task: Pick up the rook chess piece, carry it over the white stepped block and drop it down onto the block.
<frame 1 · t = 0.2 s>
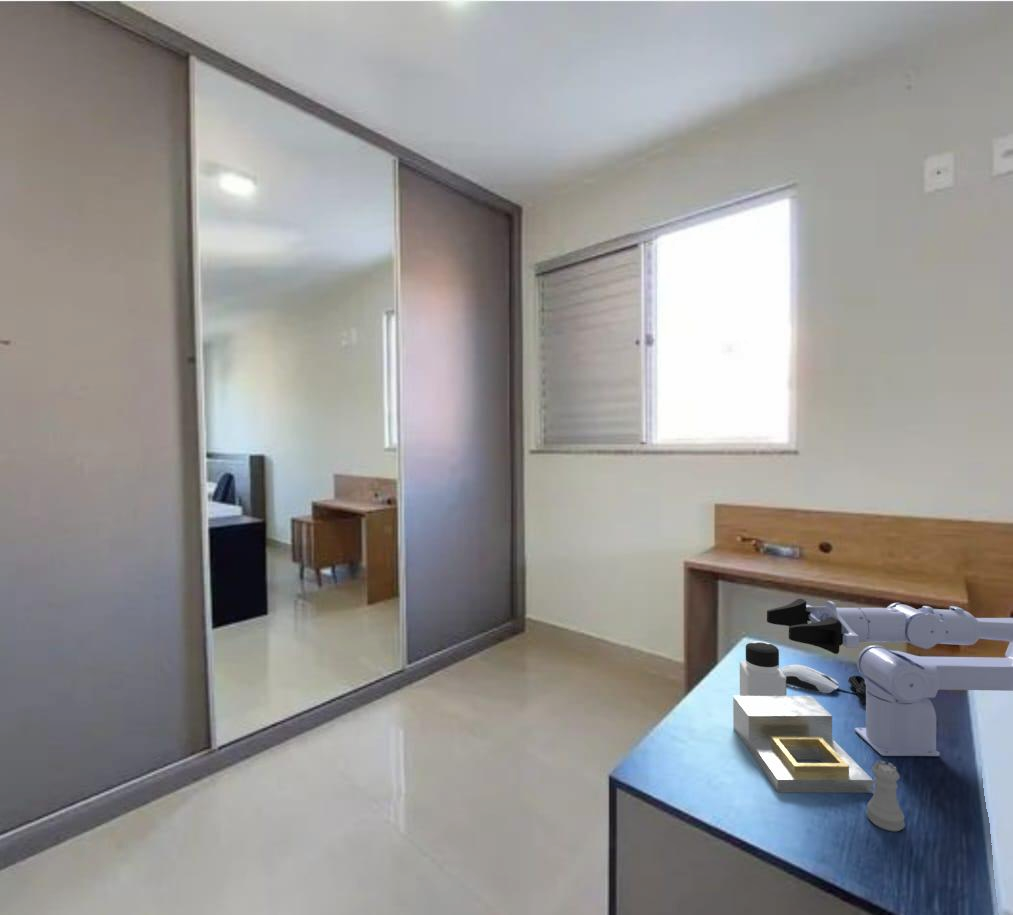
hand: (778, 624, 93), 21 cm above the cabinet, tool horizontal, fingers open, 7 cm apart
computer mouse: (819, 689, 115), on the cabinet
white stepped block: (793, 753, 91), on the cabinet
rook chess piece: (885, 823, 75), on the cabinet
medicine bottle: (762, 704, 108), on the cabinet
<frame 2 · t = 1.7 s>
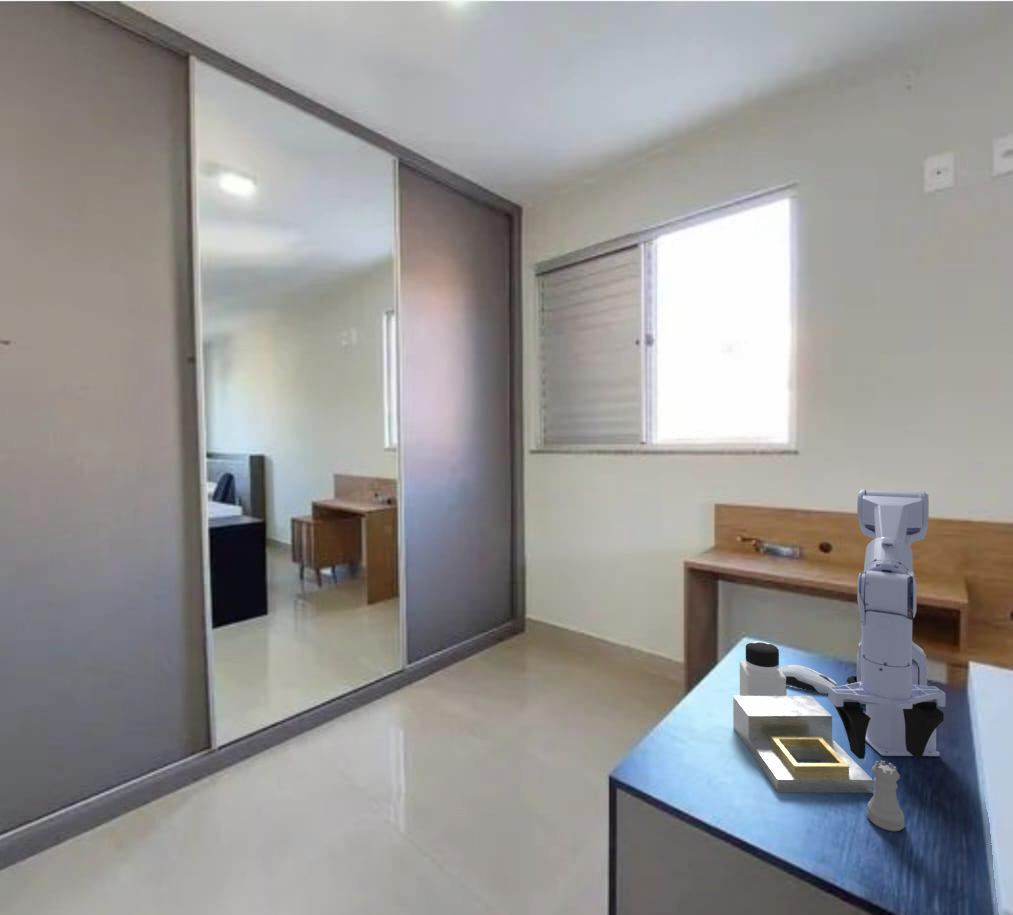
hand: (885, 754, 75), 10 cm above the cabinet, tool pointing down, fingers open, 7 cm apart
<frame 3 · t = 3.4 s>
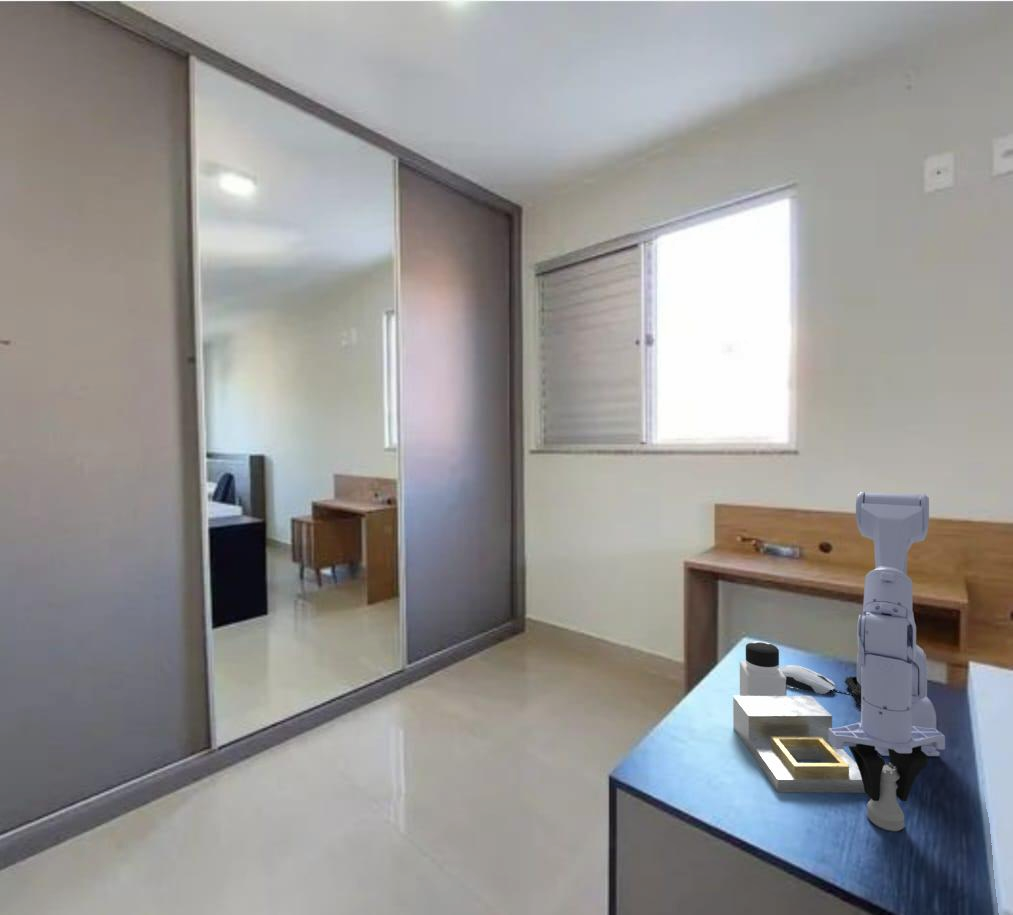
hand: (885, 796, 75), 4 cm above the cabinet, tool pointing down, fingers closed on rook chess piece, 3 cm apart
rook chess piece: (885, 822, 75), on the cabinet, touching gripper
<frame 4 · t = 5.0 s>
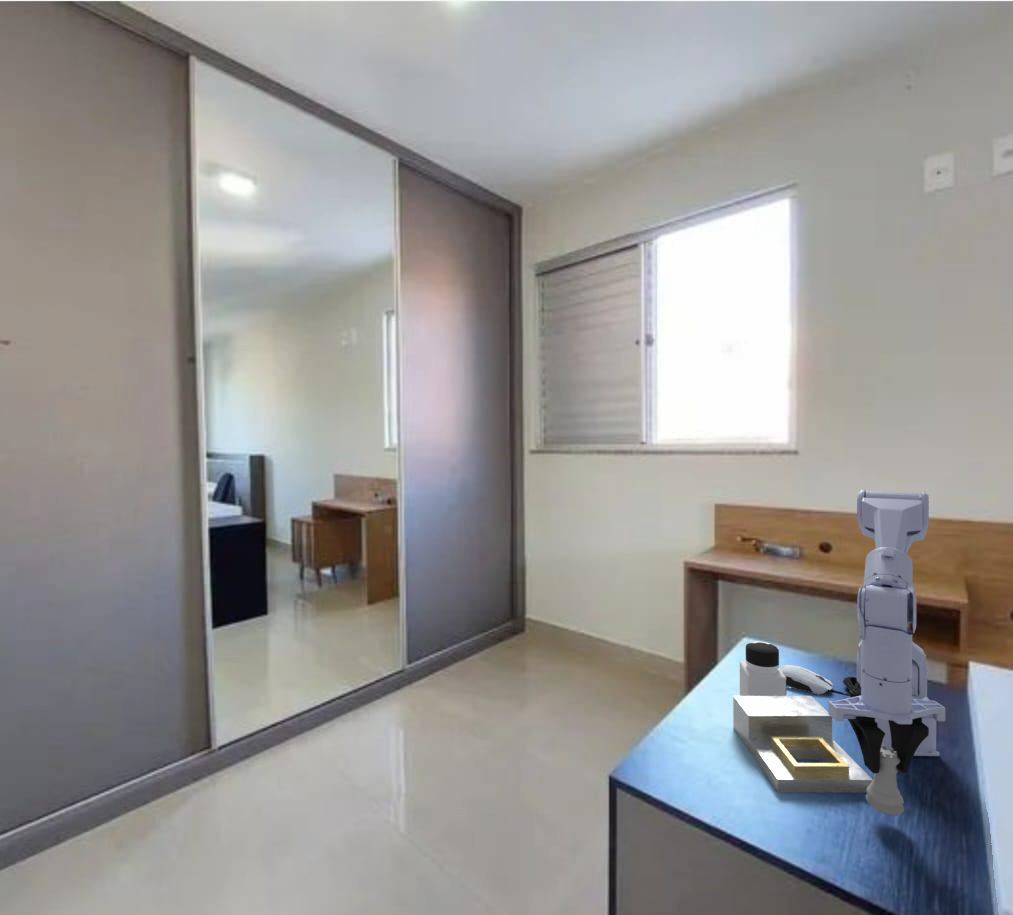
hand: (885, 768, 75), 8 cm above the cabinet, tool pointing down, fingers closed on rook chess piece, 3 cm apart
rook chess piece: (884, 807, 75), point 2 cm above the cabinet, touching gripper
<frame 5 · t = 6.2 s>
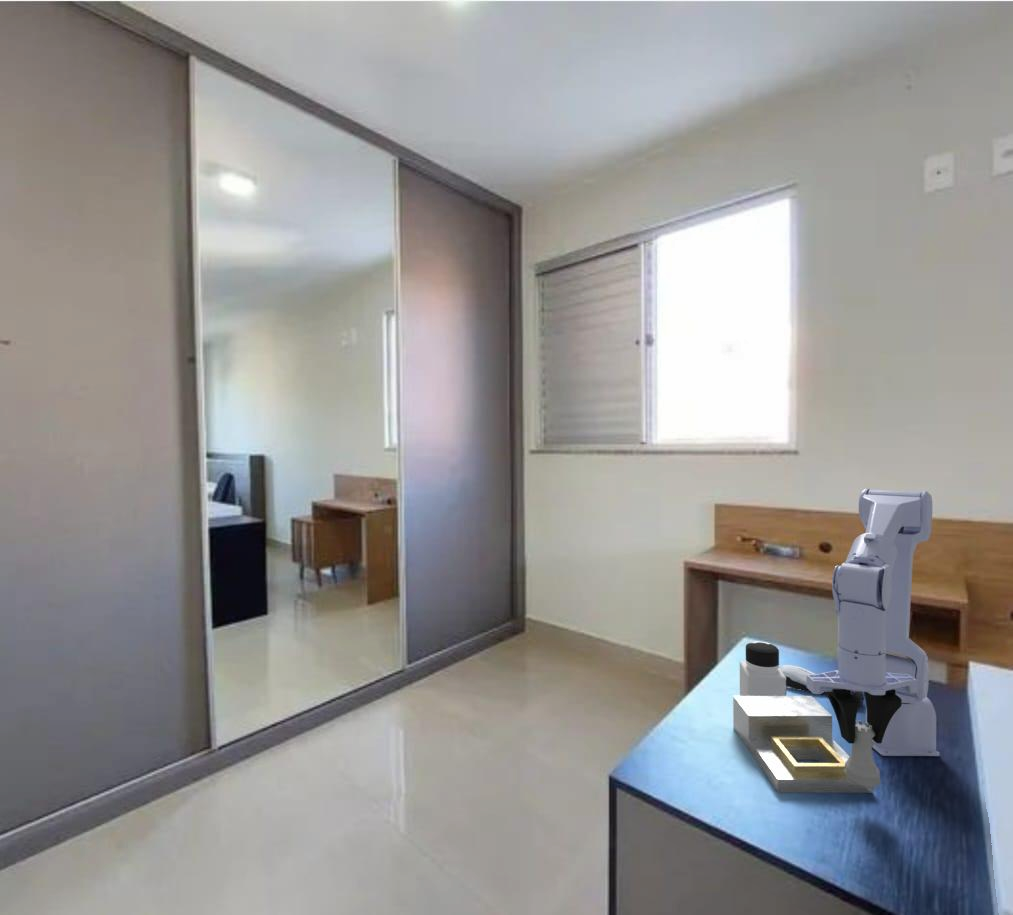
hand: (861, 739, 78), 10 cm above the cabinet, tool pointing down, fingers closed on rook chess piece, 3 cm apart
rook chess piece: (862, 780, 78), point 4 cm above the cabinet, touching gripper
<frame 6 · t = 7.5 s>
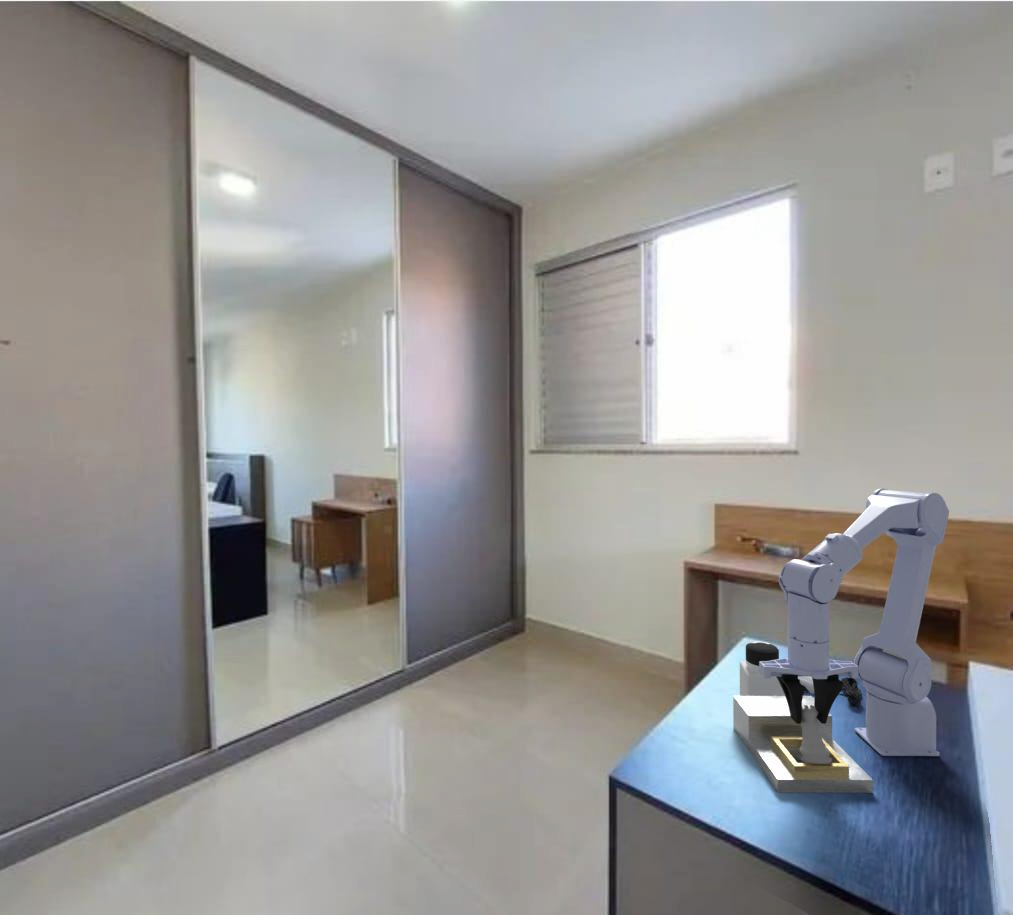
hand: (808, 720, 86), 8 cm above the cabinet, tool pointing down, fingers closed on rook chess piece, 3 cm apart
rook chess piece: (816, 763, 84), point 3 cm above the cabinet, touching white stepped block, gripper
when the fingers open (8 cm above the cabinet, at t = 7.9 s): rook chess piece drops 1 cm, resting on white stepped block.
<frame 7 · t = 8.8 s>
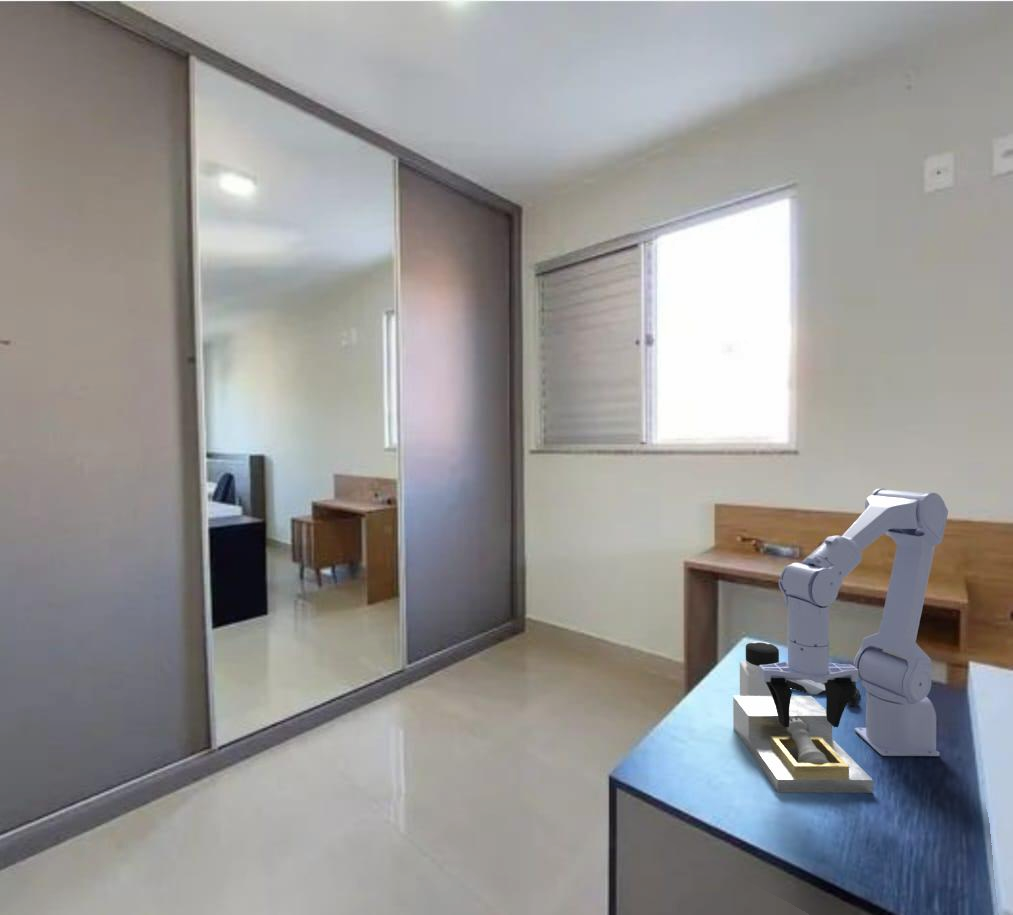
hand: (808, 723, 86), 8 cm above the cabinet, tool pointing down, fingers open, 7 cm apart
rook chess piece: (817, 770, 84), point 2 cm above the cabinet, touching white stepped block
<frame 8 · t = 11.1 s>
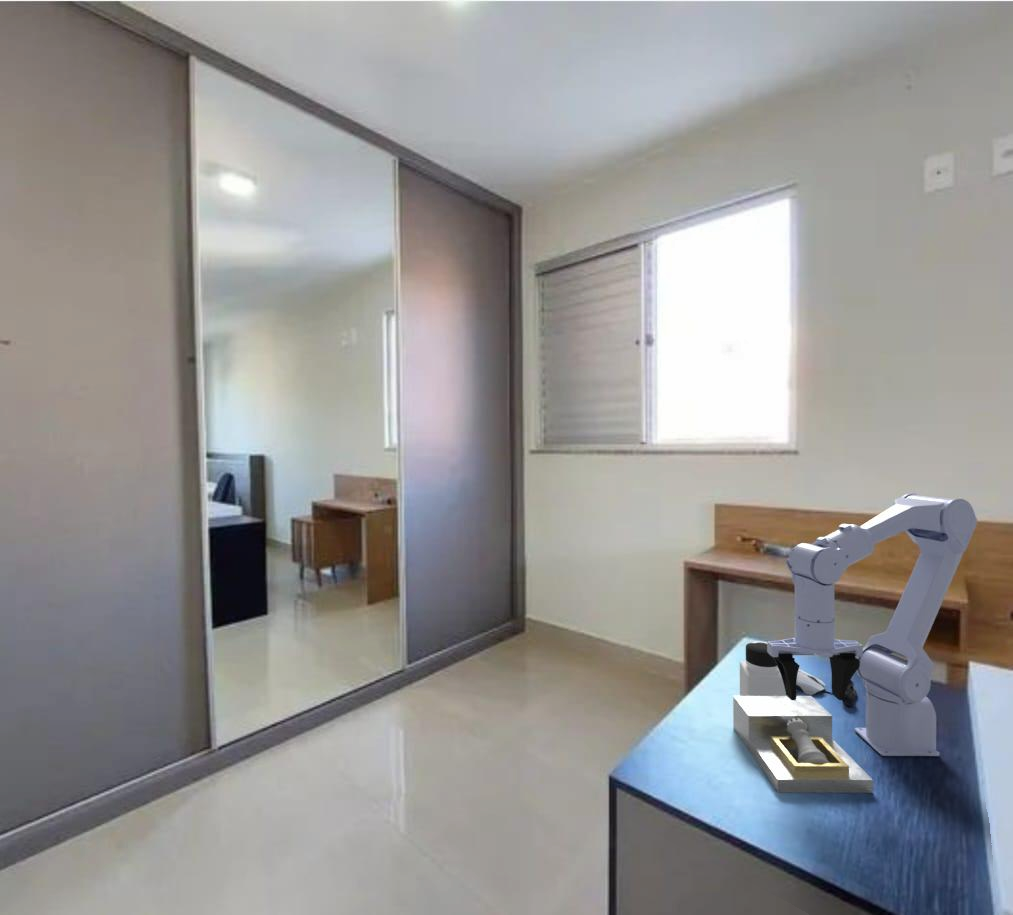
hand: (814, 697, 90), 10 cm above the cabinet, tool pointing down, fingers open, 7 cm apart
at the end: rook chess piece 2.7 cm from the target spot on the white stepped block, point 1.9 cm above the white stepped block's base; the gripper is holding nothing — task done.
